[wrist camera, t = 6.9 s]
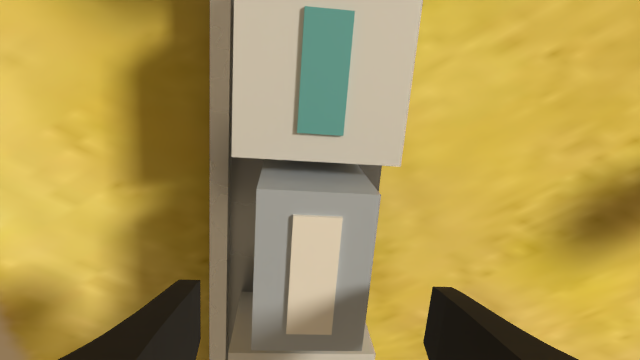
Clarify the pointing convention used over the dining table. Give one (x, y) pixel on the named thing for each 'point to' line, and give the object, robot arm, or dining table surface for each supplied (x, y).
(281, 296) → the block
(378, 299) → the dining table surface
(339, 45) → the block
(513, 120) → the dining table surface
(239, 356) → the module
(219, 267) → the rail
